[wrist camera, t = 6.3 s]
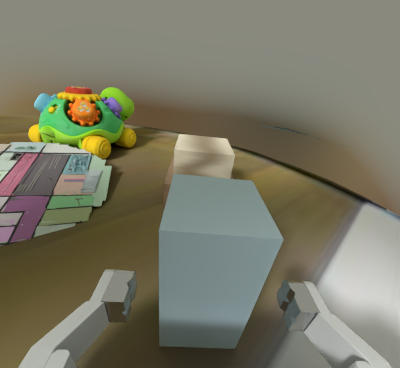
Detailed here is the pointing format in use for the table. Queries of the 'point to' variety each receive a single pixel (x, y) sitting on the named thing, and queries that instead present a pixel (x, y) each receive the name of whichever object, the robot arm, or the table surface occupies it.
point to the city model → (47, 188)
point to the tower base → (200, 159)
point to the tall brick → (212, 260)
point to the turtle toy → (84, 120)
